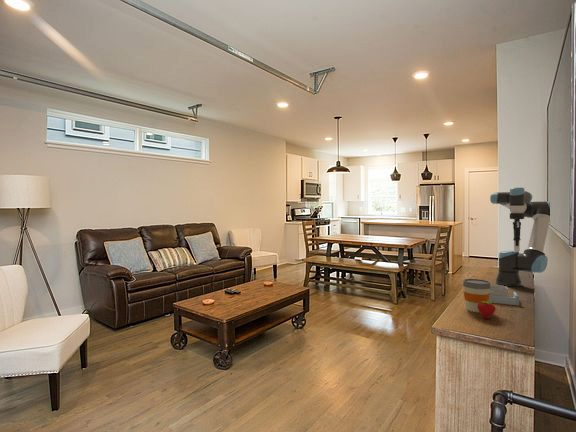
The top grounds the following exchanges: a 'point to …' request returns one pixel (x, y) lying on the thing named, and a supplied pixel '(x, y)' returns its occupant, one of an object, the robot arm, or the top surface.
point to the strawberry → (486, 309)
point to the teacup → (498, 290)
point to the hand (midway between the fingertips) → (516, 250)
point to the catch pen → (505, 299)
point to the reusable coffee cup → (475, 293)
